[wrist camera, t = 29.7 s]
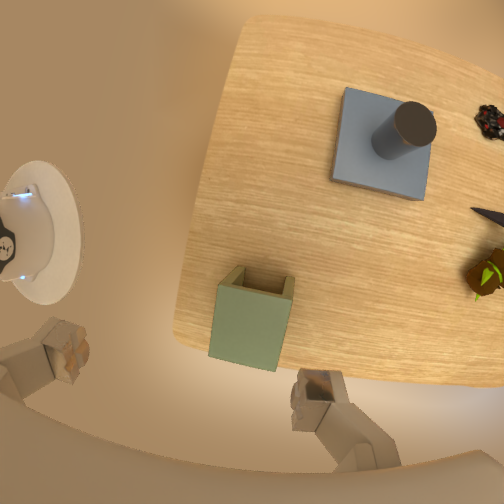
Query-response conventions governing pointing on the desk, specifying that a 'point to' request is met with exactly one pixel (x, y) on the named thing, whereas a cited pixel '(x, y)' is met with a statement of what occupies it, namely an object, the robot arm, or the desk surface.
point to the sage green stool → (249, 322)
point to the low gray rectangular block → (365, 158)
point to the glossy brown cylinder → (404, 131)
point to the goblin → (488, 264)
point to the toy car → (491, 122)
